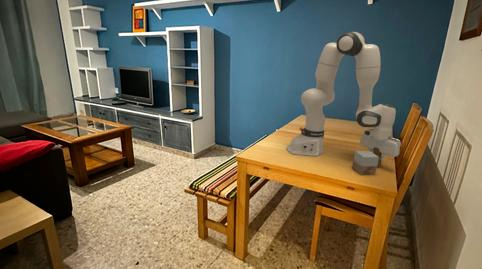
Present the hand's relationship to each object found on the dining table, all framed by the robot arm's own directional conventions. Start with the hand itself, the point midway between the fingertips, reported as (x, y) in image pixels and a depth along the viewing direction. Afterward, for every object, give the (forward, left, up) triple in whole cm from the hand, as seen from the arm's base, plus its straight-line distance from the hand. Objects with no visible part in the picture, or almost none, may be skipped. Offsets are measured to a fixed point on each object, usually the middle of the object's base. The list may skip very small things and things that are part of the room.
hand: (376, 158), depth 137 cm
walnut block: (-11, -8, -4) cm, 14 cm away
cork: (0, 0, -4) cm, 4 cm away
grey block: (-10, -8, +1) cm, 13 cm away
